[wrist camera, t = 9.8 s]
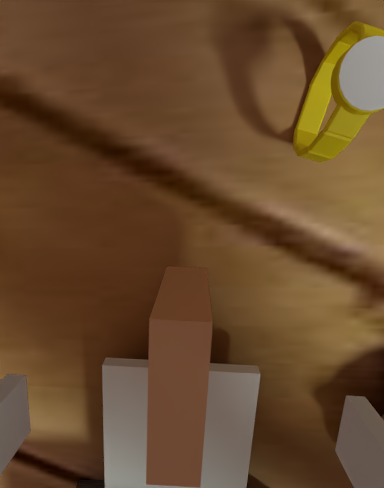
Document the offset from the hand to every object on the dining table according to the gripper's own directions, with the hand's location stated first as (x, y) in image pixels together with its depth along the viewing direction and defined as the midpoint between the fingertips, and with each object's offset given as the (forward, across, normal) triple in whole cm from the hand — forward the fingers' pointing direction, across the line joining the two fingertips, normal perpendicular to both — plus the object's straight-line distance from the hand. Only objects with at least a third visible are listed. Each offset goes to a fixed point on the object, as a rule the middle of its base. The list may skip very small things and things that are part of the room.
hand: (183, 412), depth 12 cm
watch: (+9, -7, -14) cm, 18 cm away
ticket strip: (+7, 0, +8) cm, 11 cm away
